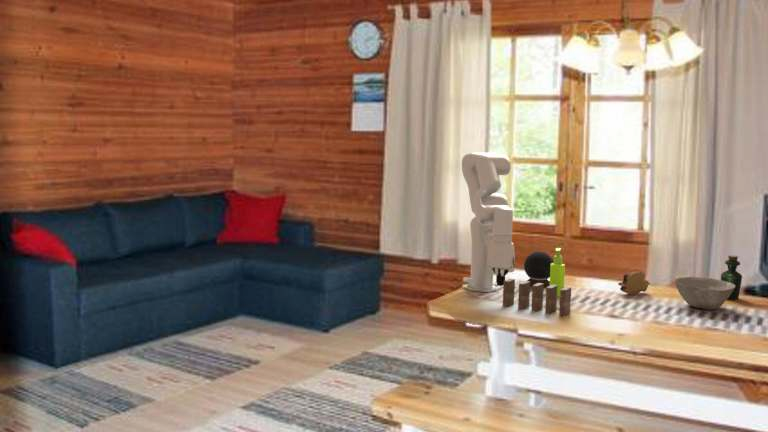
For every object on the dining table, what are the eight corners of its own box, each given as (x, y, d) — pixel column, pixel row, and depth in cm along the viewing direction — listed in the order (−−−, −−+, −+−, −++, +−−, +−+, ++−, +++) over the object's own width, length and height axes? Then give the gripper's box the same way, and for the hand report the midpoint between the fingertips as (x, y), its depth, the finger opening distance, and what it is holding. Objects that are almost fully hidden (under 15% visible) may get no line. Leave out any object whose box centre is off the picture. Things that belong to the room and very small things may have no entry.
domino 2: (518, 308, 288) (519, 283, 287) (524, 305, 293) (525, 280, 292) (522, 309, 287) (524, 284, 286) (529, 306, 292) (530, 281, 291)
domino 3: (531, 311, 285) (532, 285, 284) (537, 308, 290) (538, 282, 289) (536, 311, 284) (537, 286, 283) (542, 308, 289) (543, 283, 288)
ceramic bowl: (703, 316, 281) (705, 290, 280) (659, 302, 303) (661, 278, 301) (747, 312, 290) (749, 287, 288) (701, 298, 311) (703, 275, 310)
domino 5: (559, 315, 279) (560, 289, 278) (564, 312, 284) (566, 286, 283) (564, 316, 278) (565, 290, 277) (570, 313, 283) (571, 287, 282)
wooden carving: (640, 291, 323) (642, 268, 322) (649, 293, 320) (651, 270, 318) (615, 295, 314) (616, 271, 313) (624, 297, 311) (625, 273, 309)
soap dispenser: (548, 296, 309) (550, 248, 307) (549, 293, 316) (552, 246, 313) (562, 297, 308) (565, 249, 305) (564, 294, 314) (566, 247, 312)
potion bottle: (729, 295, 318) (733, 253, 316) (744, 299, 310) (748, 257, 308) (714, 296, 315) (717, 254, 313) (729, 301, 308) (733, 258, 305)
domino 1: (502, 306, 292) (503, 281, 290) (509, 303, 297) (510, 278, 295) (507, 307, 291) (508, 281, 289) (513, 304, 296) (514, 279, 294)
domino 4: (545, 313, 282) (546, 287, 281) (551, 310, 287) (552, 284, 286) (550, 314, 281) (551, 288, 280) (556, 311, 286) (557, 285, 285)
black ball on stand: (558, 287, 327) (560, 253, 325) (531, 288, 324) (532, 254, 322) (544, 281, 340) (546, 248, 338) (518, 282, 336) (519, 249, 335)
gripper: (480, 238, 293) (479, 284, 296) (515, 242, 285) (513, 289, 287) (489, 236, 300) (487, 281, 302) (523, 239, 291) (521, 286, 293)
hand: (500, 285), depth 295 cm, fingers closed
